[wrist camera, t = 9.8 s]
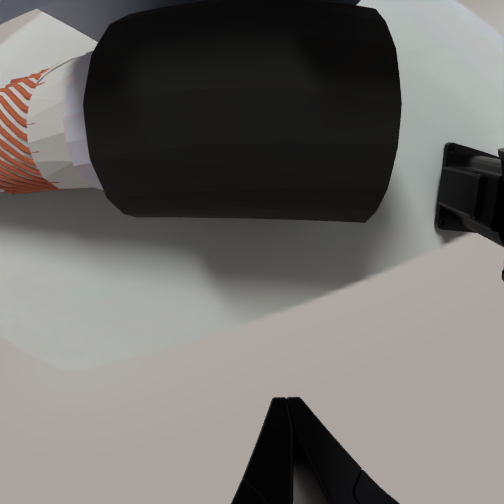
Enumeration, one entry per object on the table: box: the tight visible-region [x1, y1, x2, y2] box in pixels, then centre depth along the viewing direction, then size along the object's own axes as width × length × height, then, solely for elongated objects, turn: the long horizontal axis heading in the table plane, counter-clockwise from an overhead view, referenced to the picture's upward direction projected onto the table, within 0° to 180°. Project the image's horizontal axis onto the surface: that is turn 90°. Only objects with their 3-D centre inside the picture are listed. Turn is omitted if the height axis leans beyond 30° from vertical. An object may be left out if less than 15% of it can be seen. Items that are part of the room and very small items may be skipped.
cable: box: [0, 0, 402, 223], centre depth 14 cm, size 10×34×10 cm, turn 90°
